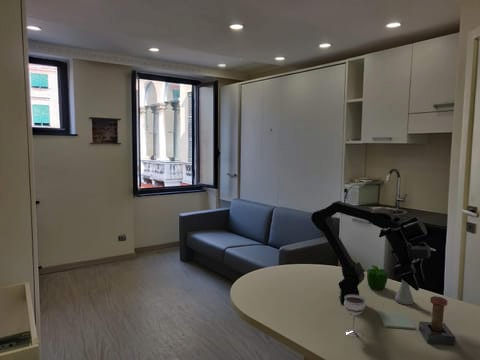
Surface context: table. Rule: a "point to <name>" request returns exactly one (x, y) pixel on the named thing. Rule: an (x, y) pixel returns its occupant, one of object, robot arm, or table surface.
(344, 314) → the table surface
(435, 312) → the walnut peg
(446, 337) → the eye block
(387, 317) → the green pad
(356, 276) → the robot arm
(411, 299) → the flask
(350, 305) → the wineglass
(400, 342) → the table surface
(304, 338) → the table surface
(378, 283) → the bell pepper
